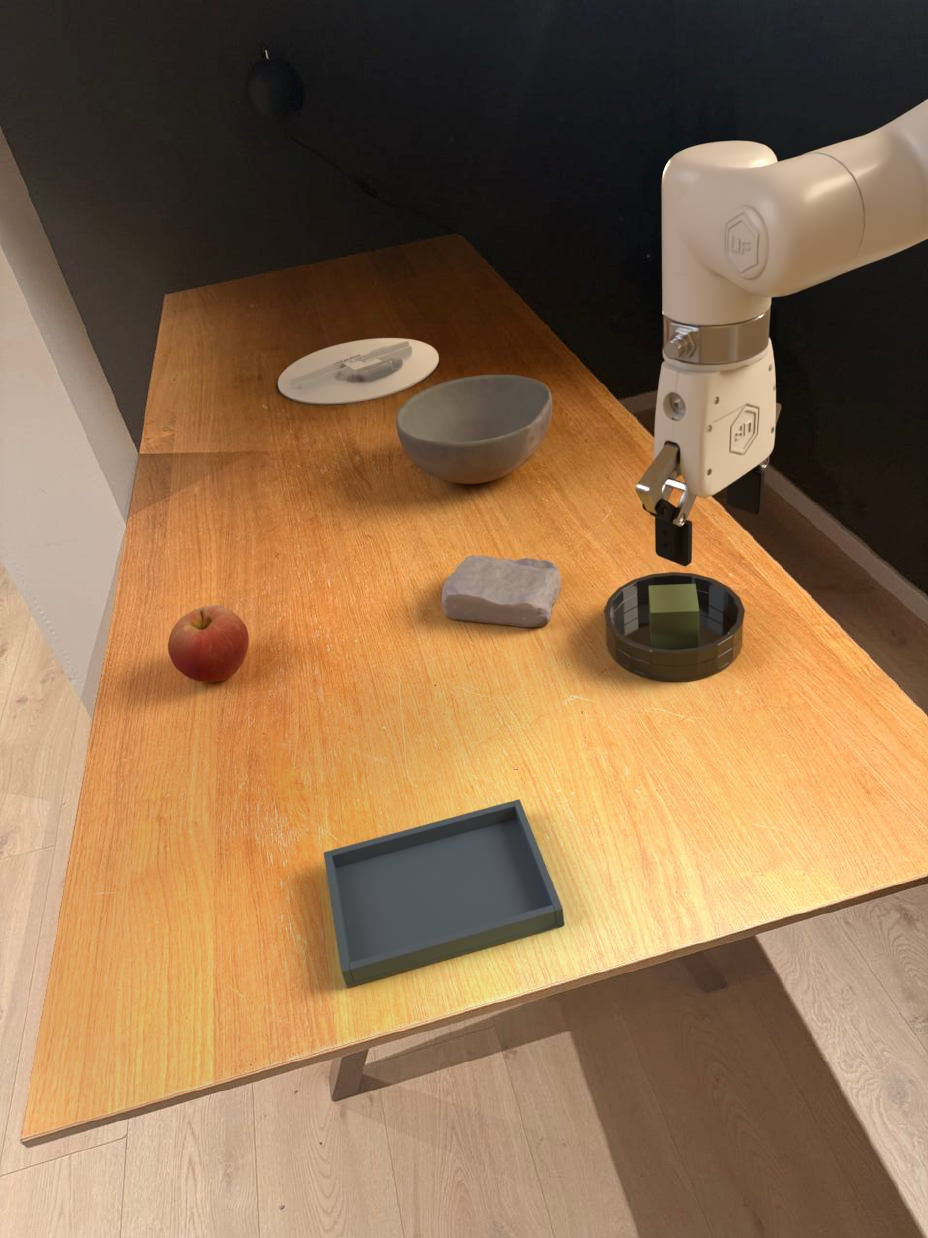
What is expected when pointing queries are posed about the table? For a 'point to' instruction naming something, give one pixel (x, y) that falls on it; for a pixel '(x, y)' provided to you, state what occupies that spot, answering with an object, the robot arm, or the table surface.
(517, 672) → the table surface
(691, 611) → the block
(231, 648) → the apple
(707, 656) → the pan
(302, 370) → the plate
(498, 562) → the stone block
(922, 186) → the robot arm
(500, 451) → the bowl
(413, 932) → the tray
